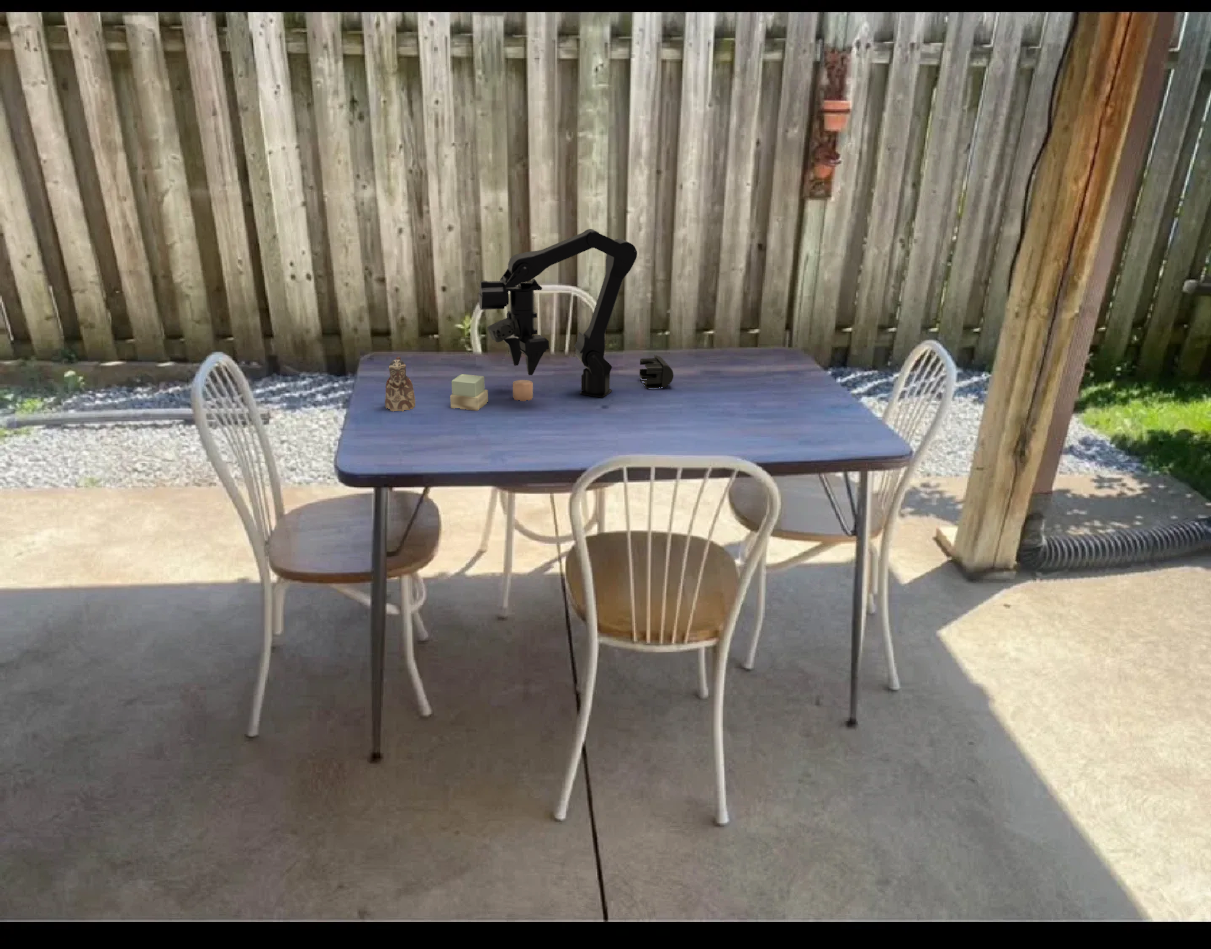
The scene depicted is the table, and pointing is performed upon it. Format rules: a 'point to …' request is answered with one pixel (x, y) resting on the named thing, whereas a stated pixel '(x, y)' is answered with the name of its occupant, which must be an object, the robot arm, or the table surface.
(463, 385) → the top block
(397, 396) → the figurine
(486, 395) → the base block
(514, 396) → the orange-brown short cylinder
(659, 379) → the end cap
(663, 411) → the table surface
